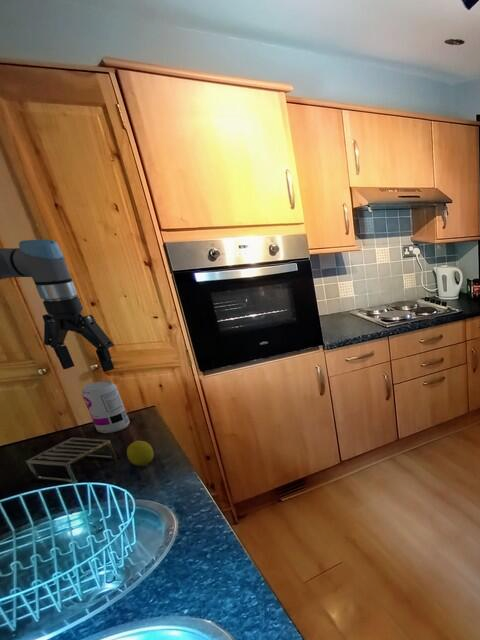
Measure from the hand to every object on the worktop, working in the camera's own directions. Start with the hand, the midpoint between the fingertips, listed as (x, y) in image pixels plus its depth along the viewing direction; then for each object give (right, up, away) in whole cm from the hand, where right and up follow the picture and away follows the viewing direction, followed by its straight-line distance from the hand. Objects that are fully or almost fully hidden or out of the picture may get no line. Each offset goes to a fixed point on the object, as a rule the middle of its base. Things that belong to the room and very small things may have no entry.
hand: (88, 369), depth 134 cm
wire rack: (+8, -28, -11) cm, 31 cm away
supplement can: (-2, -19, +11) cm, 22 cm away
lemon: (+23, -27, -8) cm, 37 cm away
